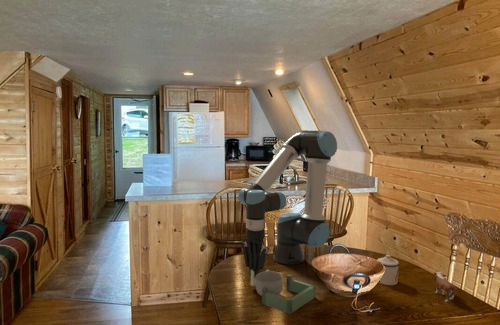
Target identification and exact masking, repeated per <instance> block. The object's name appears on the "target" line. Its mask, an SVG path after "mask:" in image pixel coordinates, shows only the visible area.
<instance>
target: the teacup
mask: <svg viewBox="0 0 500 325" xmlns="http://www.w3.org/2000/svg"><path fill="white" fill-rule="evenodd" d="M255 279H256V285H255V288H256V293H257V294H258V295H260V296H261V297H262V288H264V287H266V288H268V292H269V293H272V294H275V295H278V296H280V295H281V293H282V292H283V288H284V287H283V286H284V285H283V284H284V283H283V274H282V273H281V272H278V271H273V270H272V271H271V270H270V269H266V270H265V271H261V272H260V271H259V273H258V274H257V275H256V276H255Z"/></svg>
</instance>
